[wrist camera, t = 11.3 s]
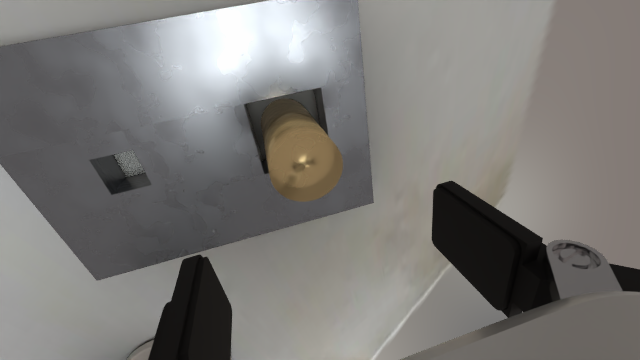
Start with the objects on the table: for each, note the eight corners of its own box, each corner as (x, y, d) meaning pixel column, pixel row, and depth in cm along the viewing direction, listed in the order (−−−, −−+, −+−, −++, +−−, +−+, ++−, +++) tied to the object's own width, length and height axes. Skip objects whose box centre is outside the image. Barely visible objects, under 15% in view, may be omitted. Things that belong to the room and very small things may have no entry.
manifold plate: (362, 188, 30) (373, 202, 27) (111, 256, 27) (96, 280, 24) (343, -8, 21) (356, -15, 18) (-37, 57, 18) (-86, 61, 15)
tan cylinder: (313, 140, 26) (346, 191, 17) (267, 151, 25) (279, 209, 17) (304, 93, 24) (337, 125, 15) (254, 104, 23) (260, 143, 15)
